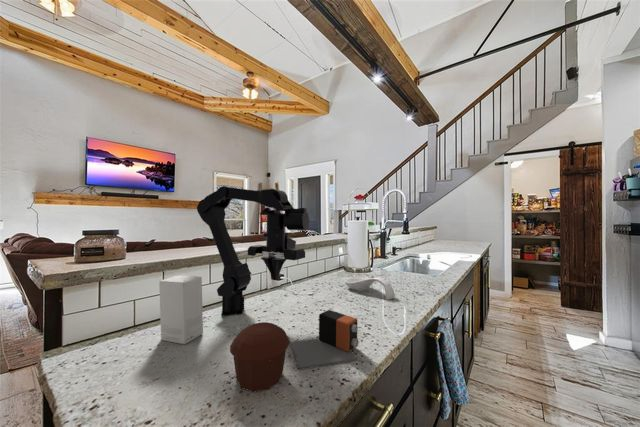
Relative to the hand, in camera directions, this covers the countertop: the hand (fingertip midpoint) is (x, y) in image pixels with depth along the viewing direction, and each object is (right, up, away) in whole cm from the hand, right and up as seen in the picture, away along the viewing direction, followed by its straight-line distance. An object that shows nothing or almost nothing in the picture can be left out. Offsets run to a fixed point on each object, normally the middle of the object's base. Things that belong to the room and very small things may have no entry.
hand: (275, 279), depth 80 cm
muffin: (+2, -12, -29) cm, 31 cm away
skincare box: (-22, -12, -13) cm, 29 cm away
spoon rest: (+34, -13, +28) cm, 46 cm away
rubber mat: (+14, -12, -19) cm, 27 cm away
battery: (+15, -8, -13) cm, 21 cm away
